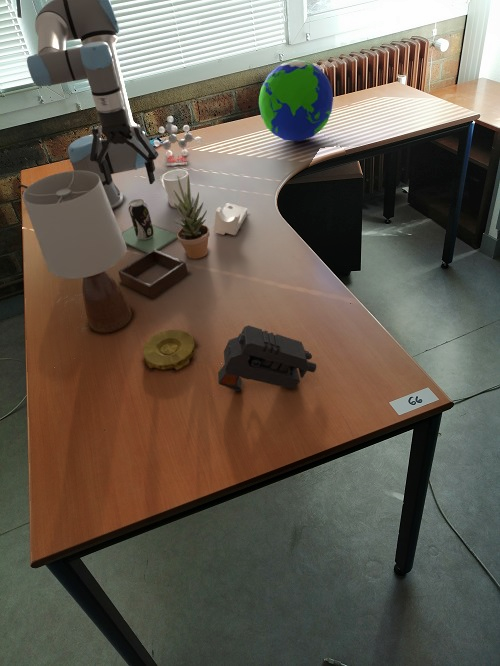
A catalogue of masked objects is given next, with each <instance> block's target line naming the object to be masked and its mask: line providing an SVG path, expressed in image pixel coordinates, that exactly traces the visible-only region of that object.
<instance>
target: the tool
mask: <svg viewBox="0 0 500 666" xmlns="http://www.w3.org/2000/svg"><path fill="white" fill-rule="evenodd" d="M223 359H224V361H223V362H224V364H223V366H222V367H221V368H220V369H219V370H218V372H217V379H218V382H217V383H218V385H220V386H223V387H226V388H228V389H231V390H233V391H236V392H240V391H241V389H242V388H243V386H242V385H243V384H242V379H245V380H253V381H256V382H261V383H265V384H270V385H273V386H278V387H282V388H287V389H290V390H291V389H294V388H296V387H297V386H298V384H299V383H300V381H301V379H300V378H302V379H303V378H304V376H305V375H306V373H307V372H309V373H315V372H316V370H317V363H315V362H312V361H310V360H312V359H313V354H312V353H311V352H310V351H309V350H306V349H305V347H304V344H303V342H302V341H300V340H297V339H294V338H290V337H287V336H284V335H281V334H277V333H276V334H274V332H272V331H271V332H269V331H268V330H263V329H262V328H259V327H255V326H252V325H249V324H248V325H245V326H243V329H242V330H241V332H240V333H239V334H238V336H236V337H234V338H231V339H229V340H228V341H227V343H226V346H225V348H224V350H223Z"/></svg>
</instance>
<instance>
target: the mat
mask: <svg viewBox="0 0 500 666" xmlns="http://www.w3.org/2000/svg"><path fill="white" fill-rule="evenodd" d="M152 226H153V230H154V235H153V236H152V237H151V238H150V239H147V240H141V239H138V238H137V236H136V233H135V229H134V226H131V228H128V229H127V230H125V231H123V232H121V233H122V236H123V239H124V241H125V244H126V246H130V247H132V248H134V249H137V250H139V251H141V252H144V253H145V254H147V253H149V252H150V251H152V250H157V251H159V250H160V249H162V248H164V247H166V246H167V245H169V244H170V243H172V242H173V241H175V240H177V239H178V238H177V233H173V232H171V231H168V230H166V229H162V228H160V227H157V226H154V225H152Z"/></svg>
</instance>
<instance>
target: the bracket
mask: <svg viewBox="0 0 500 666" xmlns="http://www.w3.org/2000/svg"><path fill="white" fill-rule="evenodd" d="M248 211H249V208H248V207H244V206H241V205H238V204H234V203H230V202H226V204H225V206H223V209H222V207H220V206H218V207H217V208H216V210H215V215H214V223H213V224H214V225H213V233H216V234H219V235H223V236H224V235H225V234H228V235H232V236H236V235H237V233H238V231H239V229H240V228H241V226H242V225H243V223H244V221H245V219H246V217H247V215H248Z"/></svg>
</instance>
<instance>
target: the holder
mask: <svg viewBox="0 0 500 666" xmlns="http://www.w3.org/2000/svg"><path fill="white" fill-rule="evenodd" d="M155 264H159V265H161V266H164V267H166V268H168V269H170V270H169V271H167V273H165V274H163V275H162V276H160V277H159V278H157V279H156V280H154V281H152V283H147V282H145V281H143V280H141V279H139V278H137V276H138V275H140V274H141V273H143V272H144V271H146V270H147V269H149V268H151V267H152V266H154V265H155ZM117 273H118V277H119V279H120V282H121V284H123V285H124V286H126V287H128V288H130V289H133V290H134V291H136V292H138V293H140V294H142V295H145V296H147V297H149V298H151V300H152V299H155V298H156V297H157V296H159V295H161V294H162V293H164V292H165V291H167V289H169V288H171V287H172V286H173V285H175V284H177V283H178V282H179V281H180V280H183V279H184V278H185V277H187V276H188V275H189V271H188V266H187V263H186V262H185V261H183V260H181V259H178V258H176V257H173V256H171V255H169V254H166V253H163V252H162V251H159V250H152V251H150V252H149V253H145V254H144V255H142V256H140V257H139V258H137V259H136V260H134V261H132V262H131V263H129V264H128V265H127V266H125V267H123V268H122V269H120V270H118V271H117Z"/></svg>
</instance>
